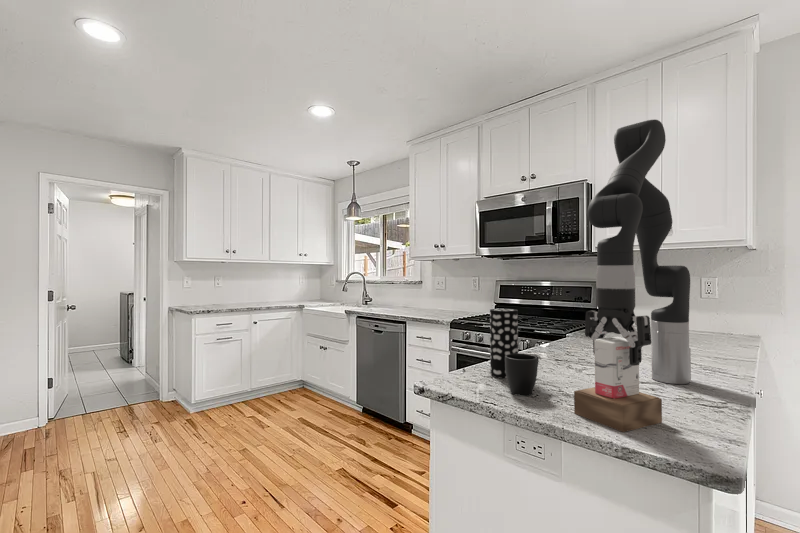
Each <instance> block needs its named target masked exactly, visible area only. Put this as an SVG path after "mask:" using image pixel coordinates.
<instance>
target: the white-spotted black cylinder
mask: <svg viewBox="0 0 800 533" xmlns="http://www.w3.org/2000/svg"><path fill="white" fill-rule="evenodd" d="M489 333H490V334H489V342H490V343H489V348H490V350H489V352H490V353H489V355H490V359H489V360H490V362H489V364H490V367H489V368H490V376H492V377H493V378H498V379H506V380H507V377H506V371H505V355H508V354H519V310H518V309H515V308H491V309H489Z"/></svg>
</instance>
